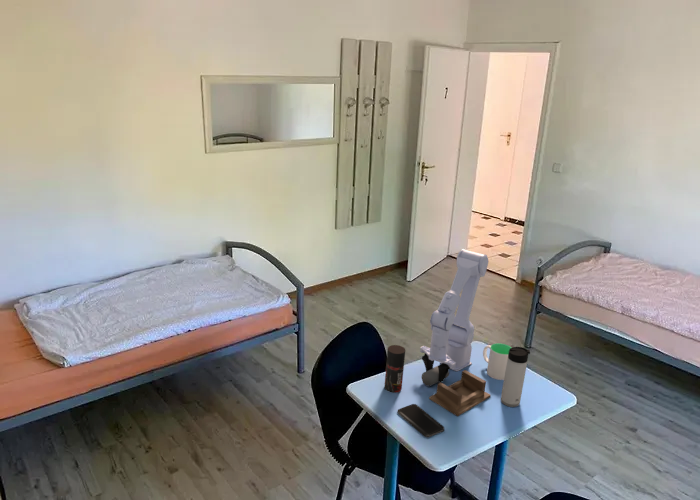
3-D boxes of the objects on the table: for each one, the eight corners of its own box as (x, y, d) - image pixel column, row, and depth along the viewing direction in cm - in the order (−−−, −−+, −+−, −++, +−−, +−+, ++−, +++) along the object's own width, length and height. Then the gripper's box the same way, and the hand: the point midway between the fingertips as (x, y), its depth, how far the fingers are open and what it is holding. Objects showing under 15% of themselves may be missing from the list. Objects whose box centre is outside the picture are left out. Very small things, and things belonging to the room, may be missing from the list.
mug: (474, 366, 207) (477, 342, 203) (488, 361, 211) (492, 336, 208) (499, 382, 198) (503, 356, 194) (513, 376, 202) (518, 350, 199)
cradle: (462, 381, 197) (464, 366, 195) (490, 396, 189) (492, 381, 187) (429, 399, 186) (430, 383, 184) (457, 416, 177) (459, 400, 175)
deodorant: (395, 394, 187) (399, 355, 182) (381, 388, 190) (384, 349, 185) (404, 387, 191) (408, 349, 186) (390, 381, 195) (393, 343, 190)
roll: (437, 373, 201) (438, 361, 199) (448, 380, 197) (449, 367, 196) (420, 382, 195) (422, 369, 193) (431, 388, 191) (433, 376, 190)
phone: (426, 436, 166) (396, 410, 178) (426, 439, 166) (395, 412, 178) (446, 428, 170) (415, 402, 182) (445, 431, 170) (414, 405, 182)
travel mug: (521, 409, 183) (531, 355, 176) (501, 405, 184) (509, 352, 178) (519, 398, 189) (529, 346, 182) (500, 395, 190) (508, 343, 183)
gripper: (415, 338, 194) (412, 372, 198) (448, 355, 184) (443, 390, 188) (429, 333, 198) (425, 366, 203) (461, 349, 188) (456, 383, 193)
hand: (435, 377), depth 196 cm, fingers closed on roll, 5 cm apart
